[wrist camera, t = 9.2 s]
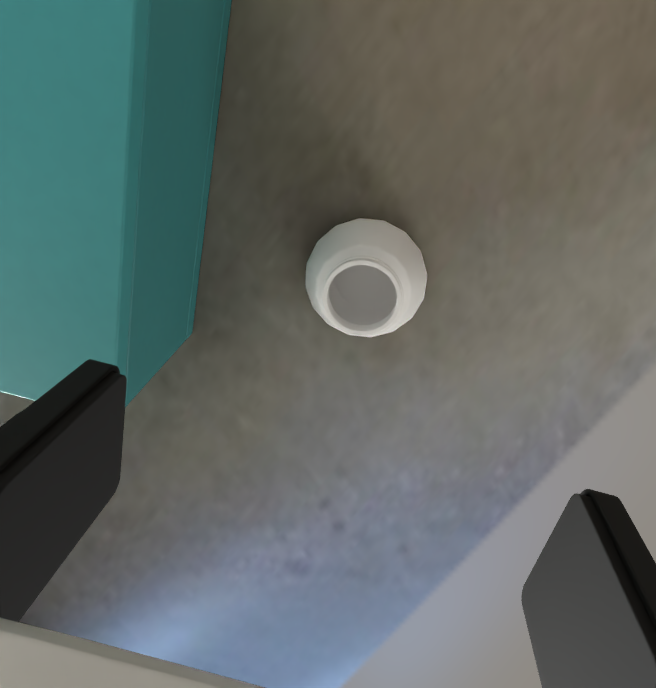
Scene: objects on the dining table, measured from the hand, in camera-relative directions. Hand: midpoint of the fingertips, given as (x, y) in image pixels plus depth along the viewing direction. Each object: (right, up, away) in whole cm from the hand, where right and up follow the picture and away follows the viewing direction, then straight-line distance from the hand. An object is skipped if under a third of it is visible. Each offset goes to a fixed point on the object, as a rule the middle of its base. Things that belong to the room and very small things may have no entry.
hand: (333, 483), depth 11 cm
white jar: (+2, +6, +12) cm, 14 cm away
